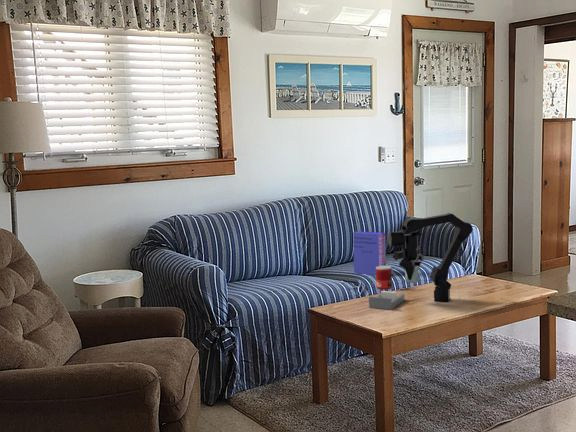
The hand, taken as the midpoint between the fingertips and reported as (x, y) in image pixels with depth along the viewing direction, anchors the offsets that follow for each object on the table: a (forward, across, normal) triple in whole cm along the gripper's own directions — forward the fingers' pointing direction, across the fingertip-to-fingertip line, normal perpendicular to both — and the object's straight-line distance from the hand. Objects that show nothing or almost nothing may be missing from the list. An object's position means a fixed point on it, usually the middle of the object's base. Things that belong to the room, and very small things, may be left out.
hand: (411, 278), depth 302 cm
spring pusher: (+11, +4, -10) cm, 15 cm away
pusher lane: (+11, +6, -10) cm, 16 cm away
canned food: (+12, -22, -22) cm, 33 cm away
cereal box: (+12, -51, -41) cm, 66 cm away
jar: (+1, 0, 0) cm, 1 cm away
